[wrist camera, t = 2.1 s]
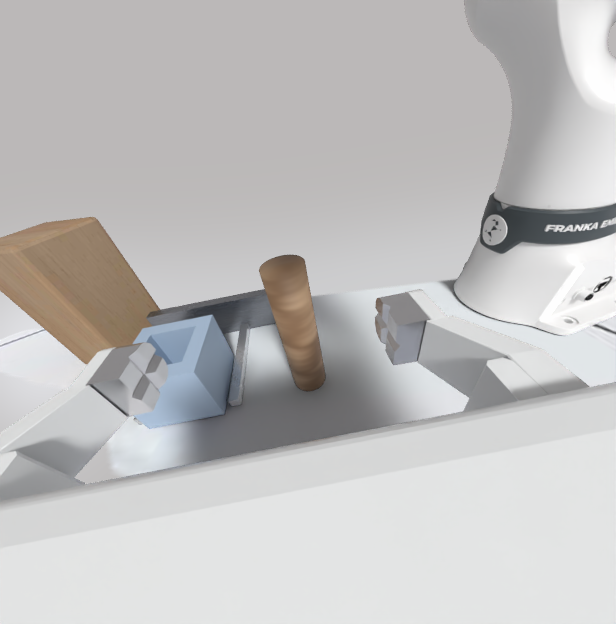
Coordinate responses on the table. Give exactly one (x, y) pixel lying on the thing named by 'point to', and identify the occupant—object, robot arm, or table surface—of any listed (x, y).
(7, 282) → the wooden block
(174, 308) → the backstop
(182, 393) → the blue hollow square block
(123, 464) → the table surface
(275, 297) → the dowel
